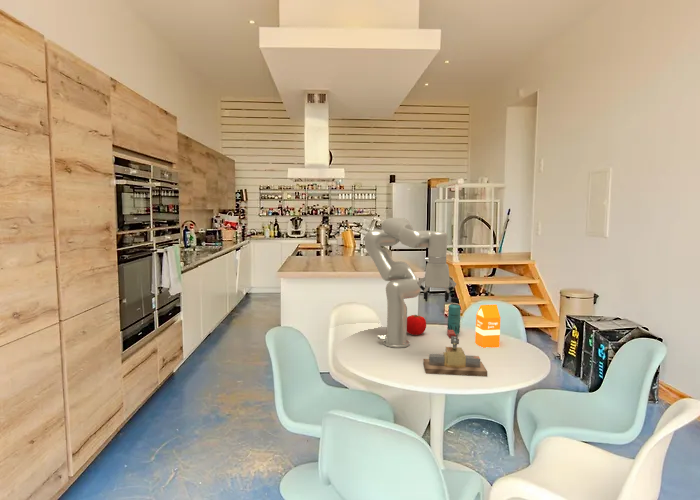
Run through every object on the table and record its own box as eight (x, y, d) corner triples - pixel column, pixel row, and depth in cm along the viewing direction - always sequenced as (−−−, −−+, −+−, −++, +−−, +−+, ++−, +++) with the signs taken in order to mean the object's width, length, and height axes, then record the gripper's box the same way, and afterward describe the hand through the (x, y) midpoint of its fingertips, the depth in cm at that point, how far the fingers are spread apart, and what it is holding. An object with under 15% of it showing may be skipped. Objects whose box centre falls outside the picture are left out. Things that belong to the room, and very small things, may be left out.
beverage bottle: (445, 333, 234) (446, 296, 232) (457, 333, 235) (458, 296, 233) (449, 337, 228) (450, 299, 226) (461, 337, 228) (463, 299, 227)
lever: (451, 344, 178) (451, 338, 178) (446, 334, 194) (446, 327, 194) (459, 345, 178) (459, 338, 177) (453, 334, 194) (454, 328, 193)
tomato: (406, 337, 227) (406, 317, 226) (401, 331, 238) (402, 312, 237) (428, 337, 228) (429, 317, 227) (423, 331, 239) (424, 312, 238)
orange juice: (499, 347, 212) (501, 306, 210) (482, 348, 210) (484, 306, 209) (491, 342, 220) (492, 302, 218) (474, 343, 218) (476, 303, 216)
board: (425, 373, 175) (425, 368, 175) (423, 363, 187) (423, 358, 187) (487, 376, 173) (487, 371, 173) (480, 366, 185) (481, 361, 185)
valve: (430, 366, 178) (430, 345, 177) (428, 361, 184) (429, 341, 183) (480, 368, 176) (481, 347, 175) (477, 363, 182) (478, 343, 182)
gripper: (417, 261, 185) (416, 302, 187) (459, 262, 184) (457, 303, 185) (416, 259, 193) (415, 299, 194) (456, 260, 191) (455, 300, 193)
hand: (436, 301), depth 190 cm, fingers open, 7 cm apart
